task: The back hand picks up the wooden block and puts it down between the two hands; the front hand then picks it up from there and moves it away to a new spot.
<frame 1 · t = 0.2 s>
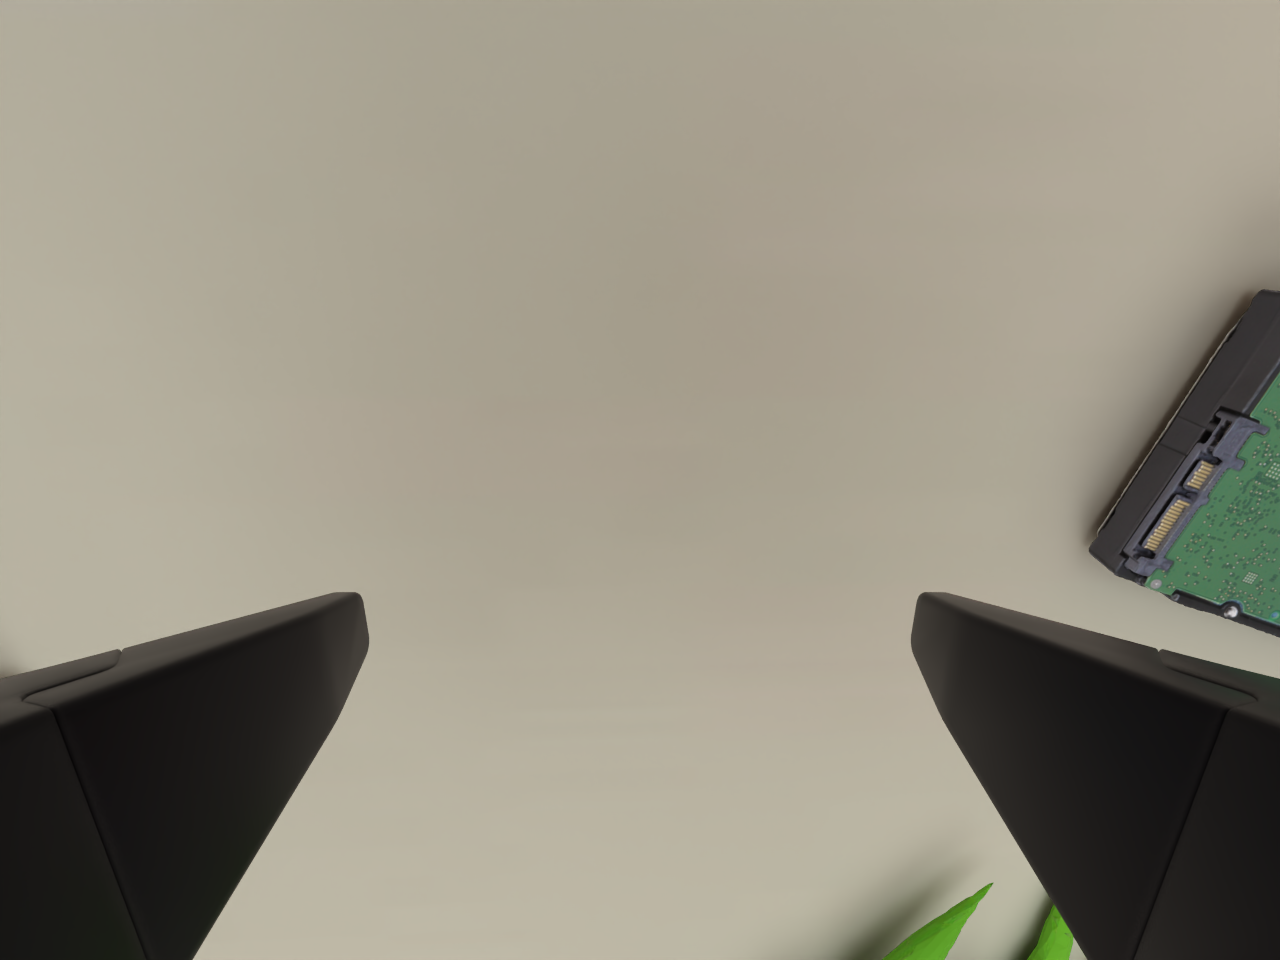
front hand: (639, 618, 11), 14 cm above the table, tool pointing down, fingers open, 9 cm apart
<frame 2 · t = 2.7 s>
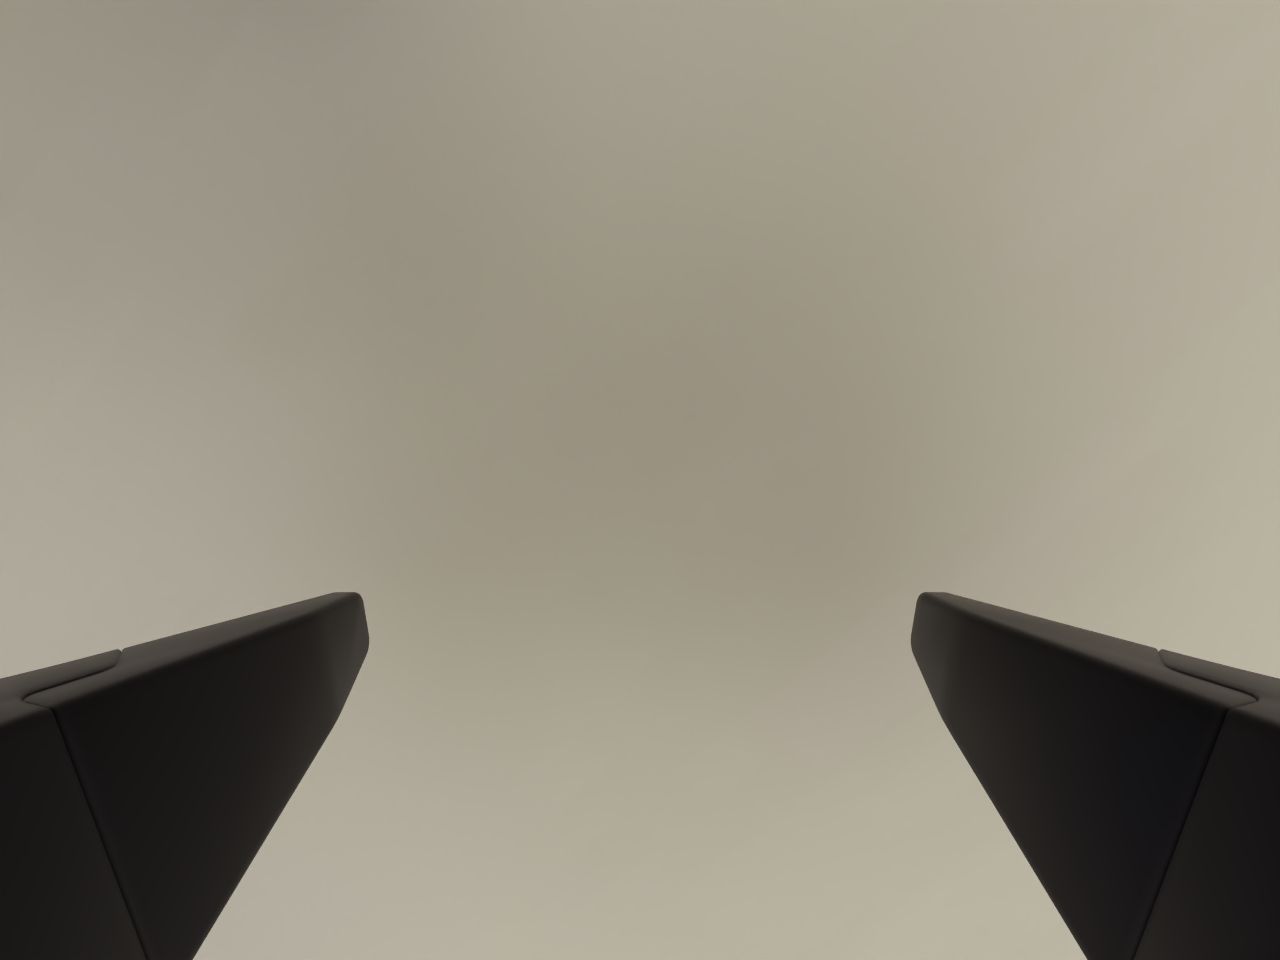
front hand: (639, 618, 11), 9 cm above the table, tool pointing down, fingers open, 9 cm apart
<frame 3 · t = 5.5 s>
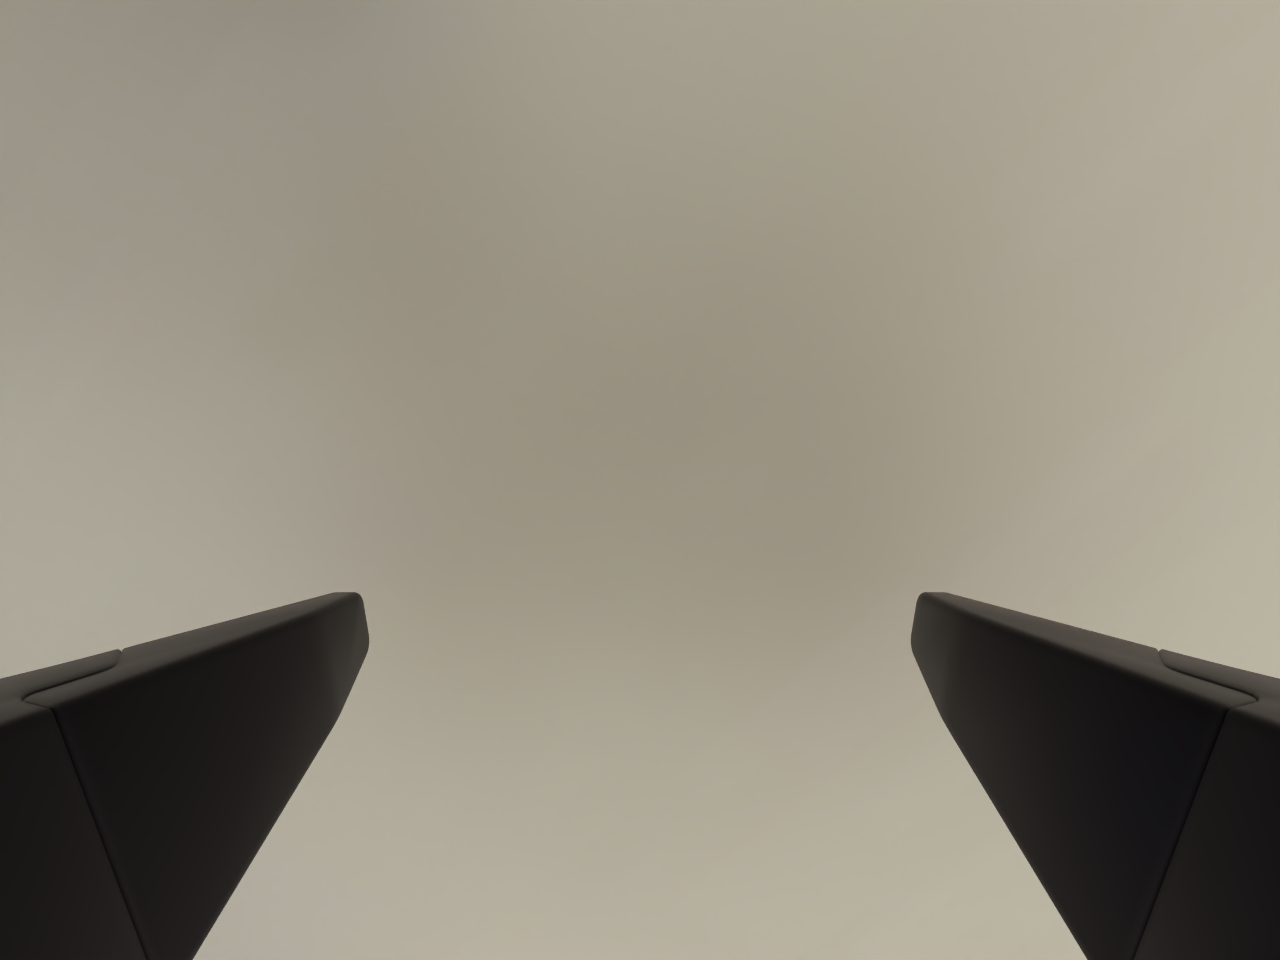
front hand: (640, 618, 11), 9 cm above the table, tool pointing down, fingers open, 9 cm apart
when the back hand's fingers open (2 cm above the table, at t = 8.2 s): block drops 1 cm, on the table.
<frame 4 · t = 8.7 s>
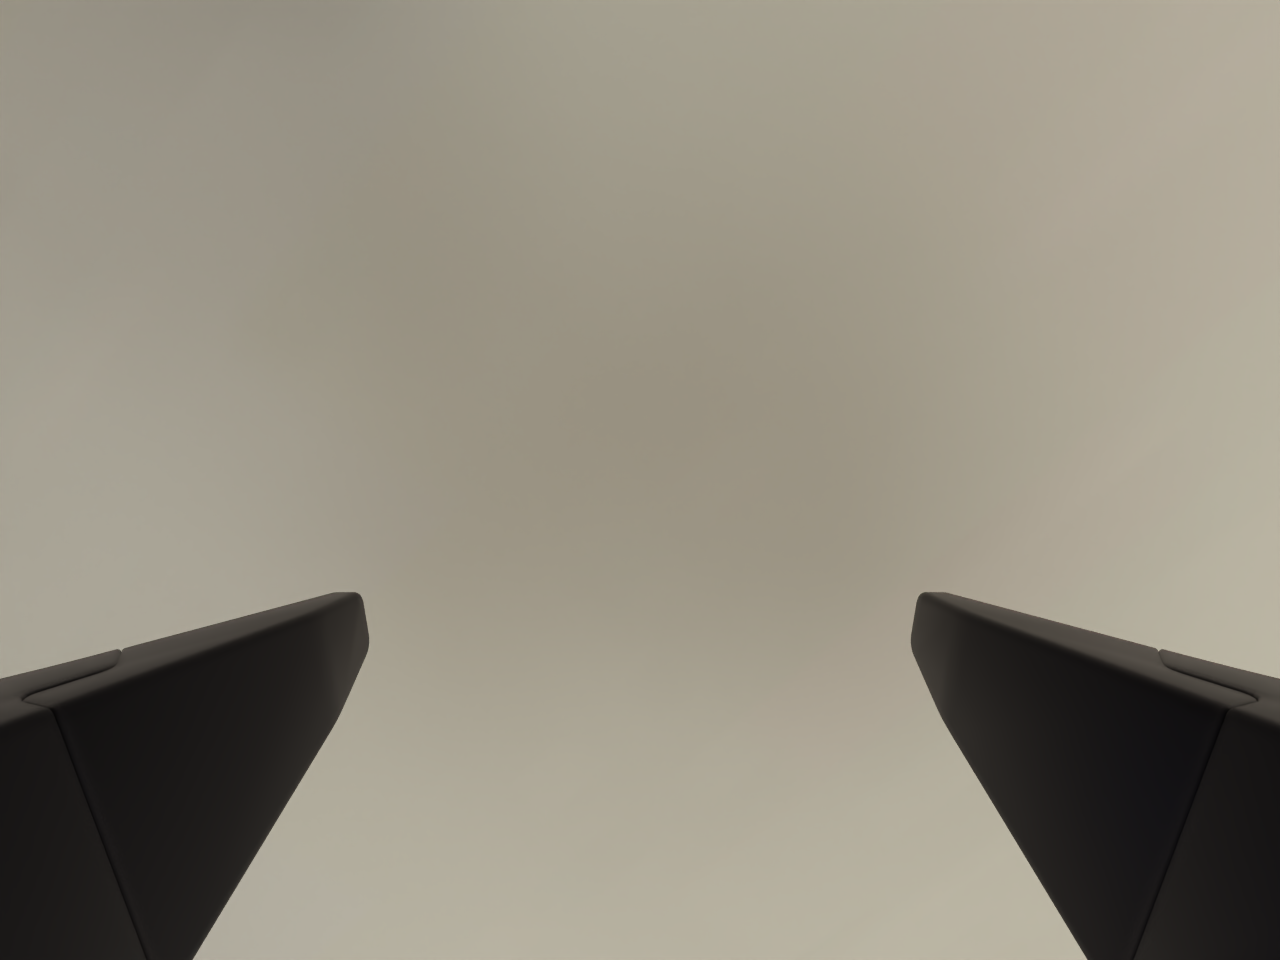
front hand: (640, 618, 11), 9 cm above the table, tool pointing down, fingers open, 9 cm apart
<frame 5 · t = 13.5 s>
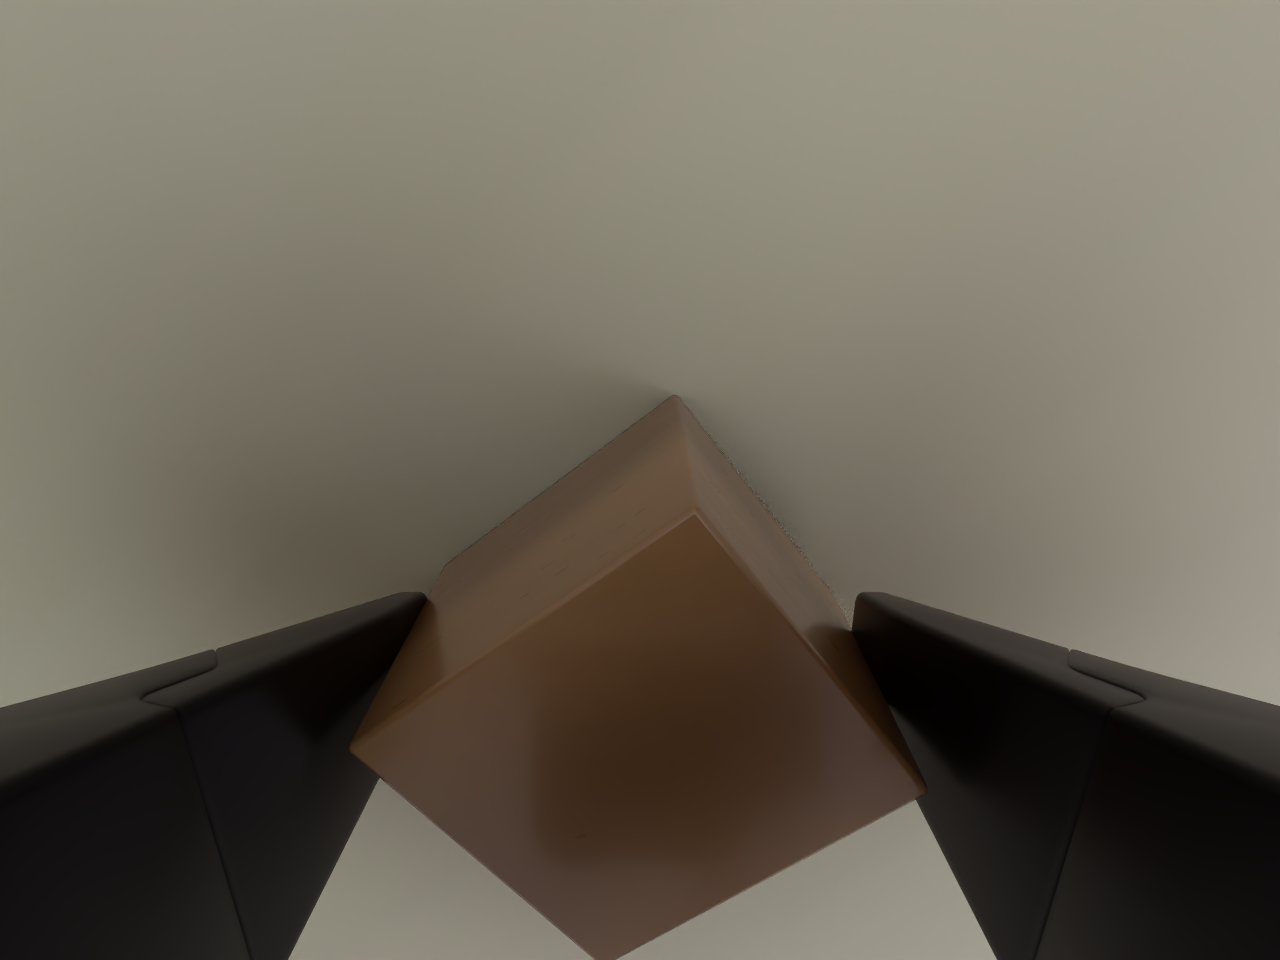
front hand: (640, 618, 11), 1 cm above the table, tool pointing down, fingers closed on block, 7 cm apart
block: (641, 582, 12), on the table, touching front hand
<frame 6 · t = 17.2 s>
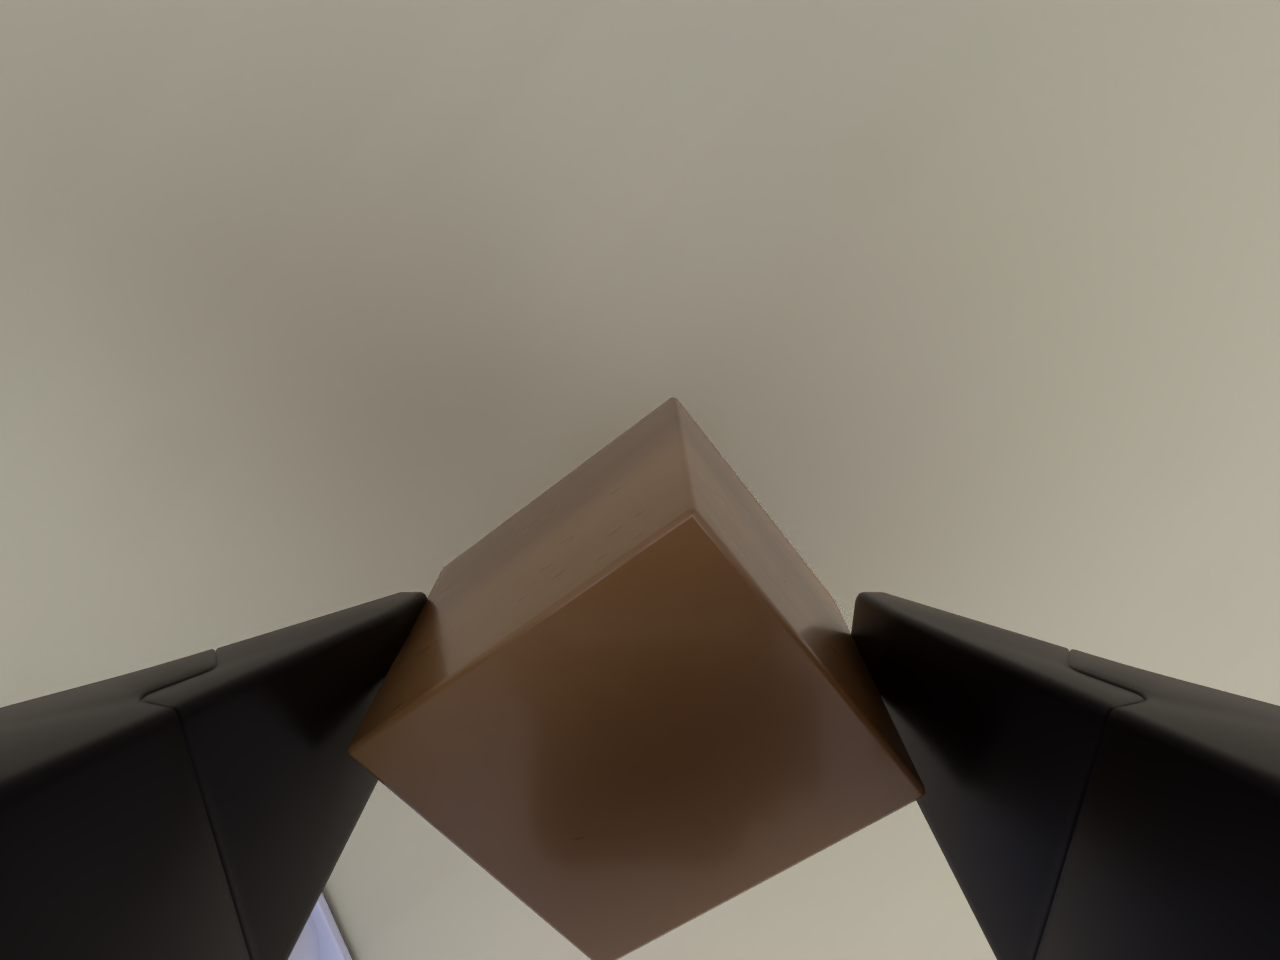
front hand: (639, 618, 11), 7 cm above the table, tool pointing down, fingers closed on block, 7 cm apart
block: (640, 584, 12), point 6 cm above the table, touching front hand
when the front hand's fingers open (2 cm above the table, at t = 21.1 s): block drops 1 cm, on the table.
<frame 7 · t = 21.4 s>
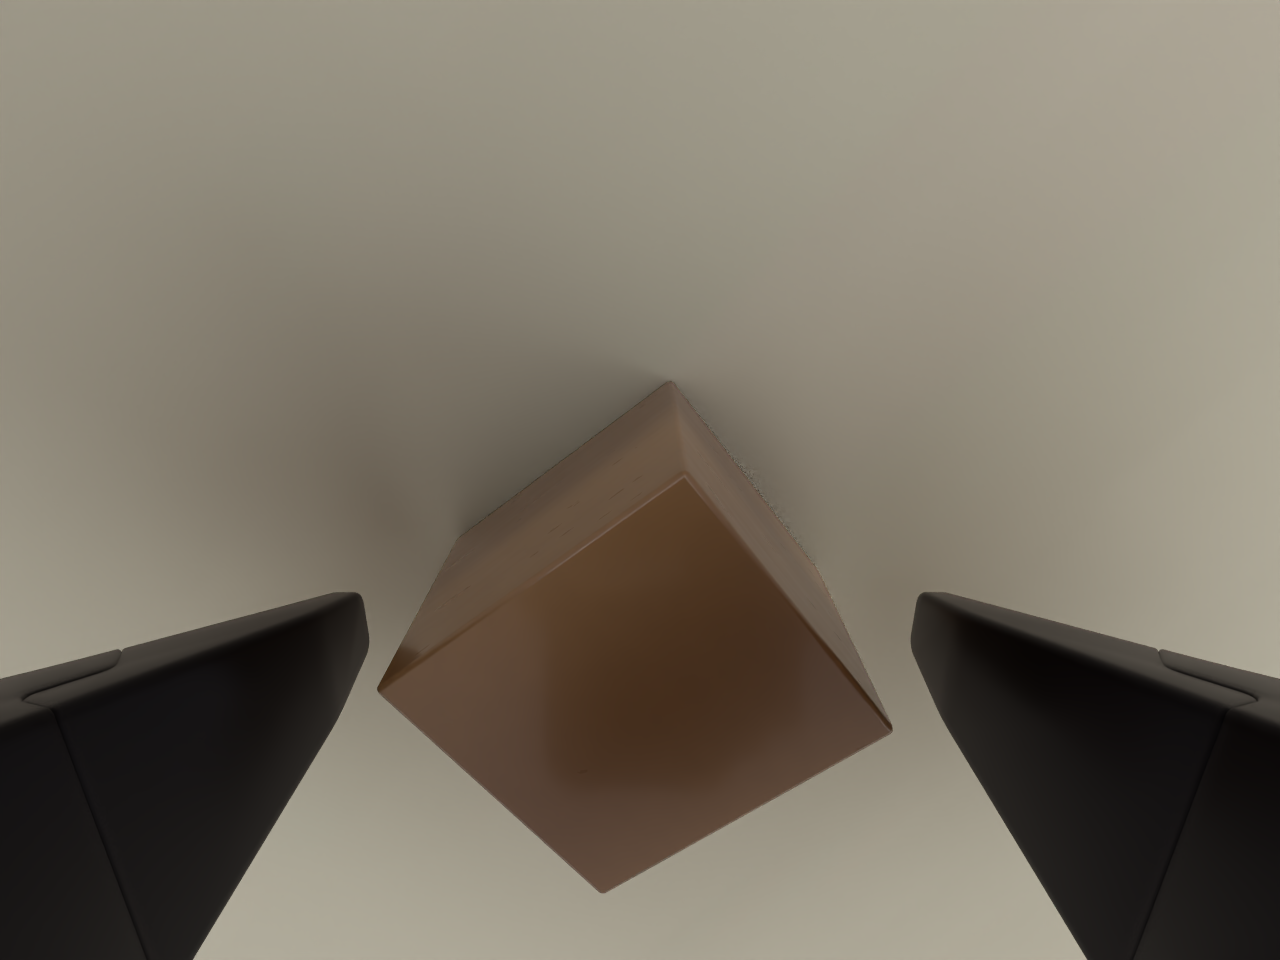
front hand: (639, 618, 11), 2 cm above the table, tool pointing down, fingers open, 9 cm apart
block: (639, 555, 13), on the table
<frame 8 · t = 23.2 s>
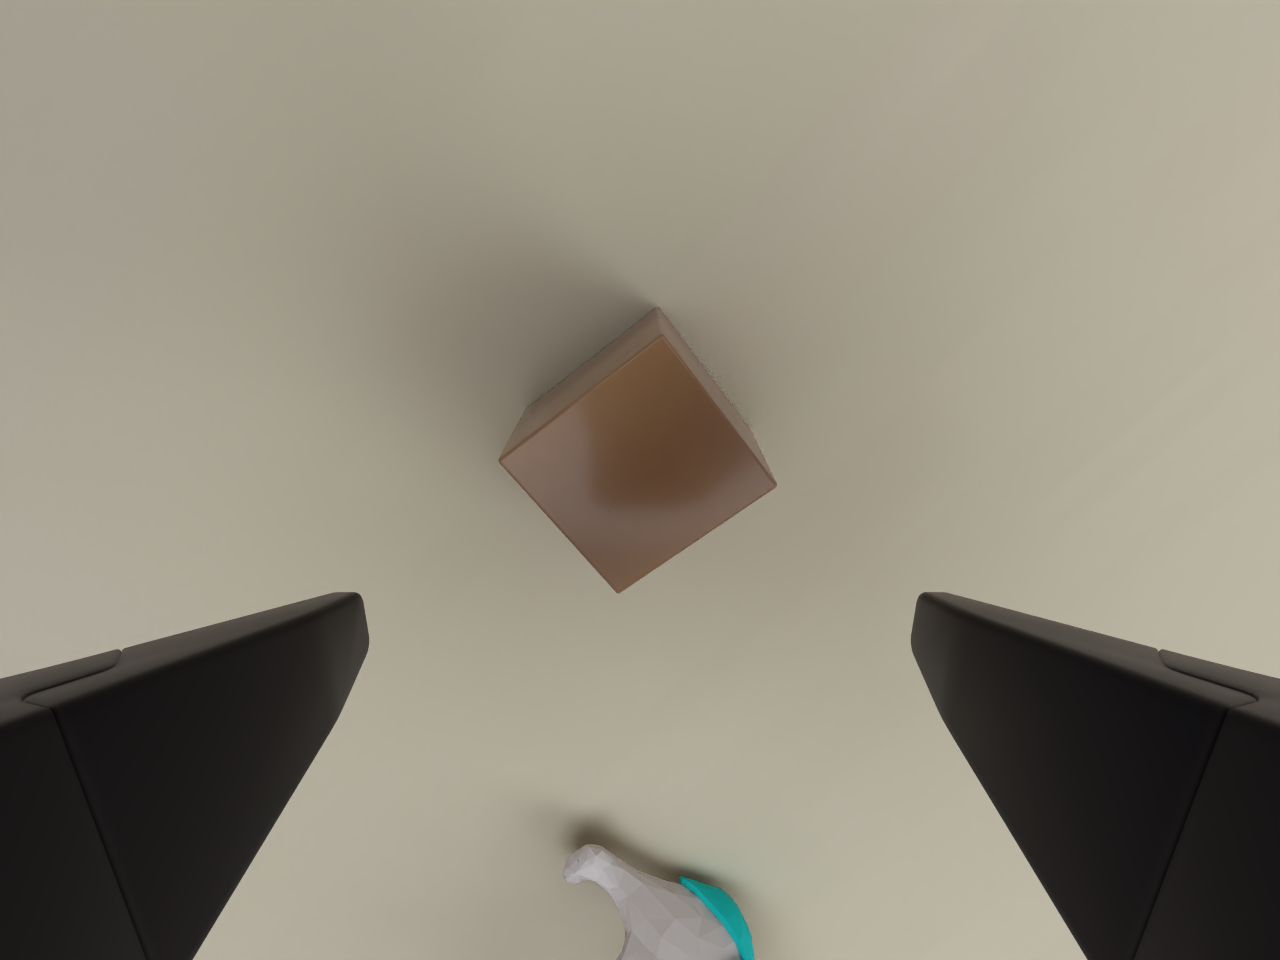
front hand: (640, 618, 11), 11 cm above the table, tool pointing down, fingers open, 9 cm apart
block: (638, 421, 21), on the table
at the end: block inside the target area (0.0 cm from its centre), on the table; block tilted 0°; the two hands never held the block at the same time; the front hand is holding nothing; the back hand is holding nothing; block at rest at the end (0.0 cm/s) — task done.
